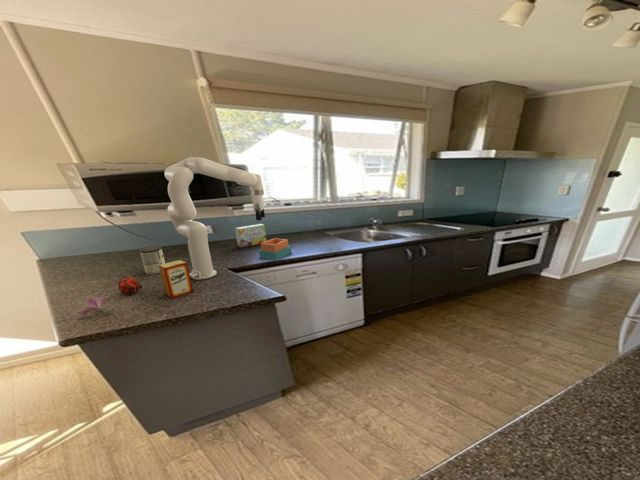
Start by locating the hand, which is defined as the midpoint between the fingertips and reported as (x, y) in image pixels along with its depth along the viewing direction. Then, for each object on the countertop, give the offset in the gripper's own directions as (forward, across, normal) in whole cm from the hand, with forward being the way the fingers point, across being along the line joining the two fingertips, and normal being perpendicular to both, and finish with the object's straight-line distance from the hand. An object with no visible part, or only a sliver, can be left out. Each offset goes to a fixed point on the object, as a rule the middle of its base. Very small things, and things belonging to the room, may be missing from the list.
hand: (260, 218), depth 190 cm
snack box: (+27, -31, -16) cm, 44 cm away
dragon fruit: (+26, +50, -54) cm, 78 cm away
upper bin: (+26, +1, +7) cm, 27 cm away
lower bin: (+26, +1, +7) cm, 27 cm away
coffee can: (+26, +20, -58) cm, 67 cm away
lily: (+26, +72, -54) cm, 93 cm away
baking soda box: (+26, +54, -30) cm, 67 cm away
